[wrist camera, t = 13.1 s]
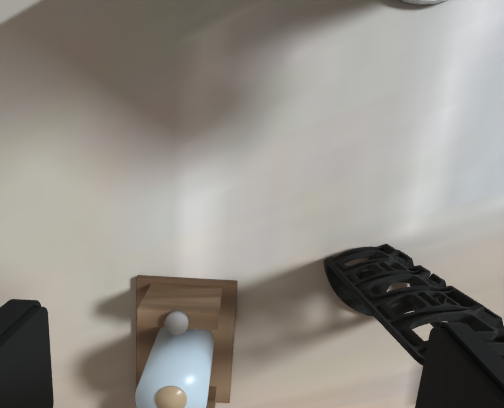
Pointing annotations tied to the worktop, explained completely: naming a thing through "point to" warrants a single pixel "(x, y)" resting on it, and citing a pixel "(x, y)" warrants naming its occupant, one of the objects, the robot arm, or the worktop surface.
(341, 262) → the holder
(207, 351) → the pale blue rounded cylinder
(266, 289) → the worktop surface
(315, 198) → the worktop surface
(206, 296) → the cradle
